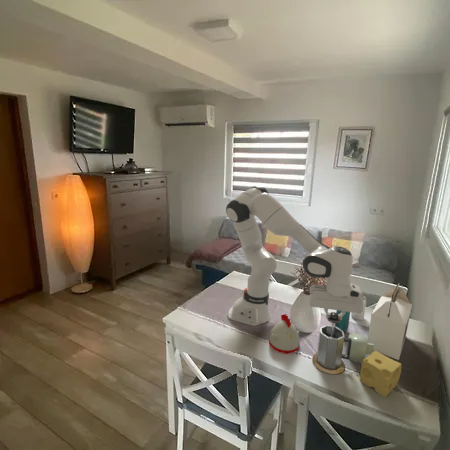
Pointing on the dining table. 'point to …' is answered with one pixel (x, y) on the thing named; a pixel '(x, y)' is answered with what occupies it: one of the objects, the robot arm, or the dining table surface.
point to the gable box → (390, 323)
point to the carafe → (331, 351)
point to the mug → (359, 347)
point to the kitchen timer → (284, 336)
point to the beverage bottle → (343, 321)
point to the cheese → (380, 373)
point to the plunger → (333, 319)
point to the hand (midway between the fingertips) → (333, 318)
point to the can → (360, 315)
